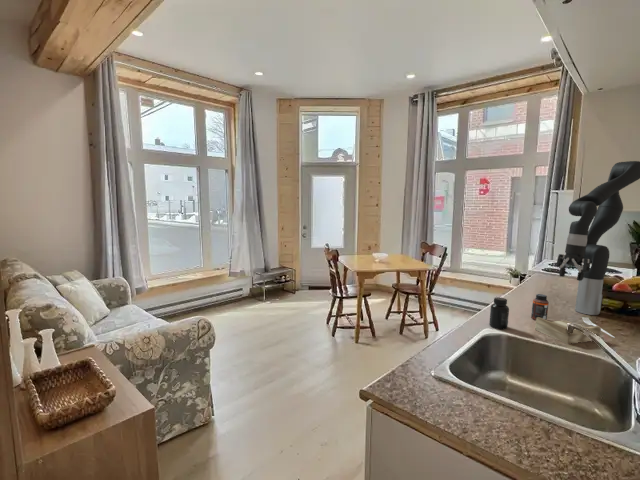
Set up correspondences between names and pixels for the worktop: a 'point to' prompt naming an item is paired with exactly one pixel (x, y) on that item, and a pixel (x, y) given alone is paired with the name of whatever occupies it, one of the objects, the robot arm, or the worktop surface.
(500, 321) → the supplement bottle
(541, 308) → the supplement bottle
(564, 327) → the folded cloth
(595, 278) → the robot arm
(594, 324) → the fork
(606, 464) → the worktop surface
